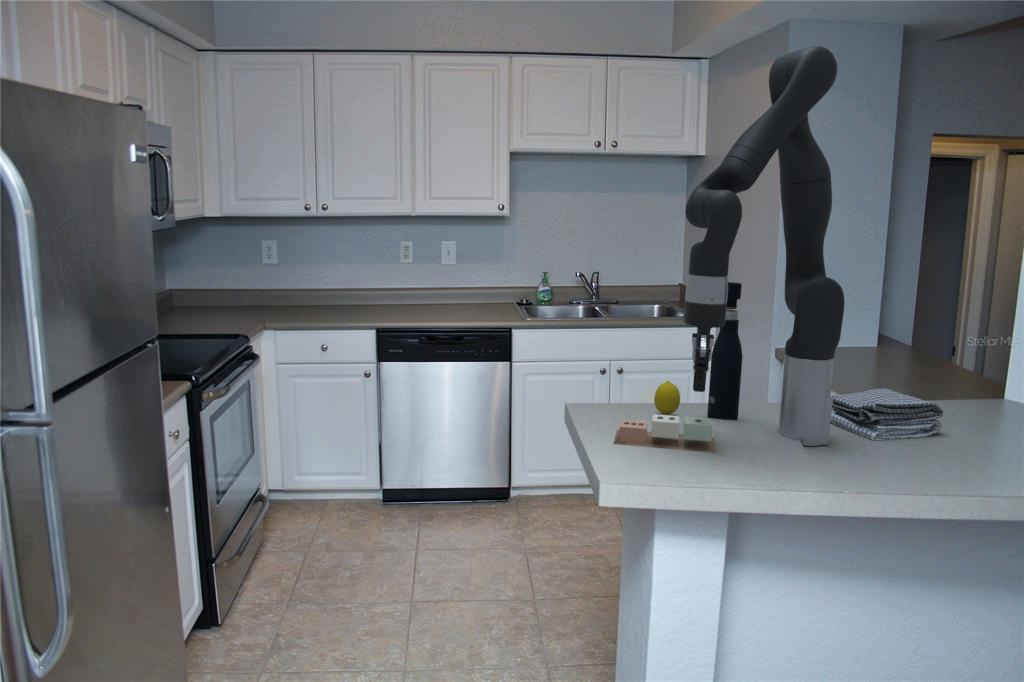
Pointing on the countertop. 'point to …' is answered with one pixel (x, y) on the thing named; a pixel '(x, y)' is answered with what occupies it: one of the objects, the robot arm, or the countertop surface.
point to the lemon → (667, 398)
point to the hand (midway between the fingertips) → (698, 390)
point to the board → (672, 443)
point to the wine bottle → (726, 363)
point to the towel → (885, 414)
